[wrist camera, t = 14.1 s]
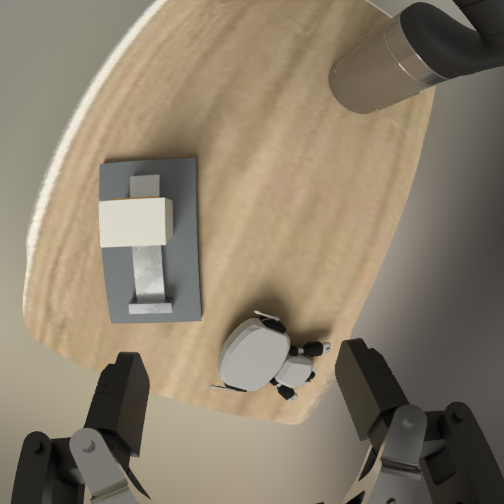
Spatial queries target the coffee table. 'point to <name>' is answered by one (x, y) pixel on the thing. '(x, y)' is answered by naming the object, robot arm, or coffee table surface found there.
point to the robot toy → (266, 358)
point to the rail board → (174, 252)
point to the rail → (148, 260)
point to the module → (135, 221)
